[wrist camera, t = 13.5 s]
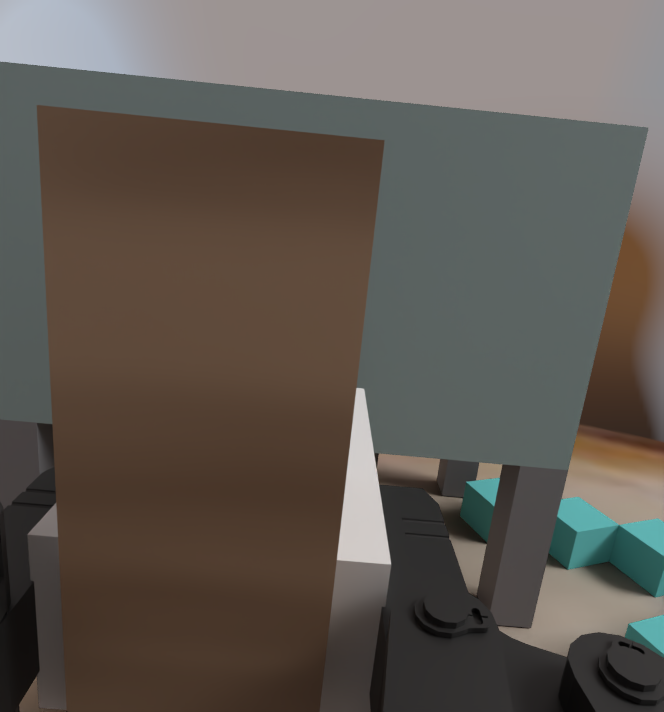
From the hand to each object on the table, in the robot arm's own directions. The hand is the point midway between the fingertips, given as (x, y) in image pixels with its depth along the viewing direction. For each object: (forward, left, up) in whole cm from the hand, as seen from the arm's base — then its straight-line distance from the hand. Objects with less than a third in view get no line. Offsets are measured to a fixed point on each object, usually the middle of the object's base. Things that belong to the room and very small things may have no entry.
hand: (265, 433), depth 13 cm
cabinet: (0, -8, -8) cm, 12 cm away
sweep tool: (0, -4, -8) cm, 9 cm away
